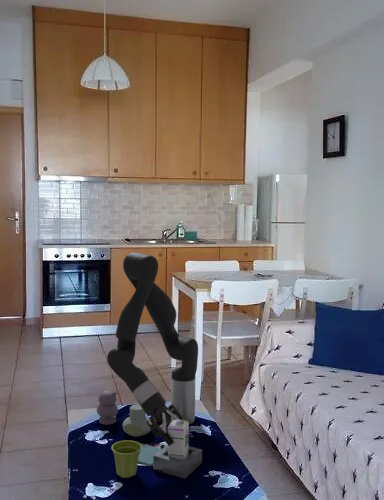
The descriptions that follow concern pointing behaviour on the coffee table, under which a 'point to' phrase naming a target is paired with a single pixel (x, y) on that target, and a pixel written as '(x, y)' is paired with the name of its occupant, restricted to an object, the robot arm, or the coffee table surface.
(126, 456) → the plant pot
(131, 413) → the air freshener
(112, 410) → the cat figurine
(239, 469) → the coffee table surface
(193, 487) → the coffee table surface
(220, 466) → the coffee table surface
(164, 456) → the collar
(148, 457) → the mat
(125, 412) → the coffee table surface
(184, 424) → the syrup box
